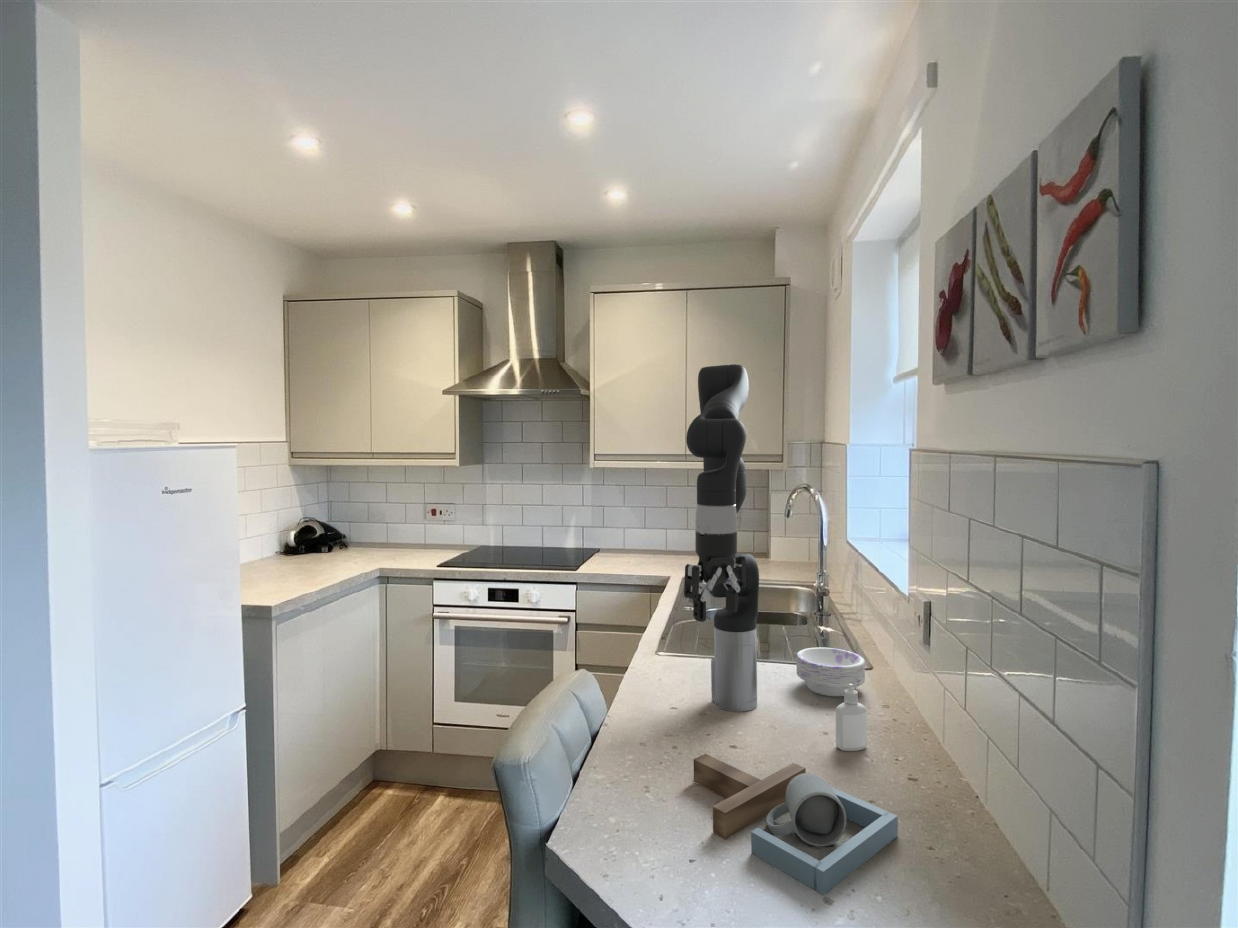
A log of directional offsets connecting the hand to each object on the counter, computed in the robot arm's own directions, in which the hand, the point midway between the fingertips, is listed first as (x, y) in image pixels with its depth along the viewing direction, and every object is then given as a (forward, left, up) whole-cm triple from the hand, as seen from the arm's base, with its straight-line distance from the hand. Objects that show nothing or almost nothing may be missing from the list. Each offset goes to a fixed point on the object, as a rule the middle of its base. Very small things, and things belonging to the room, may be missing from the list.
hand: (716, 616), depth 120 cm
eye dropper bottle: (+14, +21, -26) cm, 37 cm away
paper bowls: (-5, +44, -26) cm, 52 cm away
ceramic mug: (+24, -8, -26) cm, 37 cm away
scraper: (+11, -9, -26) cm, 29 cm away
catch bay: (+28, -9, -26) cm, 39 cm away
